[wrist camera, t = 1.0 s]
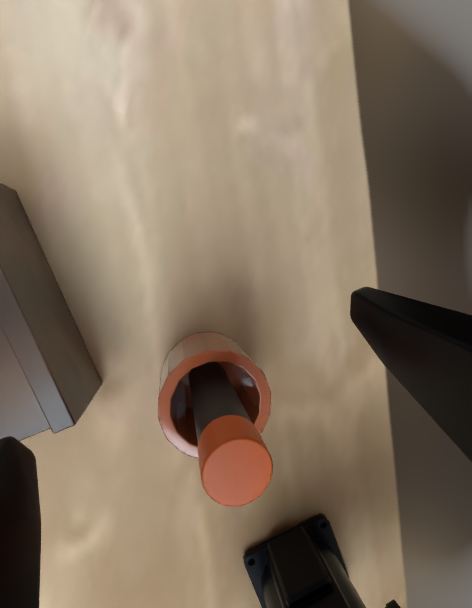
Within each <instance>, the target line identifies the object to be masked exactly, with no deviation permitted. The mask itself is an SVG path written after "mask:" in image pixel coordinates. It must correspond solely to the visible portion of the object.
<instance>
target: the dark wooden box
mask: <svg viewBox="0 0 472 608" xmlns="http://www.w3.org/2000/svg"><path fill="white" fill-rule="evenodd" d="M101 385H102V382H101V380H100V378H99V376H98V373H97V371H96V369H95V367H94V365H93V362H92V360H91V358H90V356H89V353H88V351H87V349H86V347H85V345H84V342H83V340H82V338H81V336H80V333H79V331H78V329H77V327H76V324H75V322H74V320H73V318H72V316H71V313H70V311H69V309H68V307H67V304H66V302H65V300H64V298H63V295H62V293H61V291H60V289H59V287H58V284H57V282H56V280H55V278H54V275H53V273H52V271H51V269H50V267H49V264H48V262H47V260H46V258H45V255H44V253H43V251H42V249H41V246H40V244H39V242H38V240H37V238H36V235H35V233H34V231H33V229H32V226H31V224H30V222H29V220H28V217H27V215H26V213H25V211H24V209H23V206H22V204H21V202H20V200H19V197H18V195H17V193H16V191H15V190H13V189H11V188H9V187H8V186H6V185H4V184H2V183H0V439H2V438H5V437H7V436H12V437H14V438H16V439H17V440H18V441H21V440H23V439H26V438H28V437H30V436H33V435H35V434H38V433H40V432H43V431H45V430H47V429H50V428H51V430H52V432H53V433H57V432H59V431H62V430H64V429H67V428H69V427H71V426H74V425H75V424H76V423H77V421H78V420H79V418H80V417H81V415H82V414H83V412H84V411H85V409H86V408H87V406H88V405H89V403H90V402H91V400H92V398H93V397H94V395H95V394H96V392H97V391H98V389H99V388H100V386H101Z"/></svg>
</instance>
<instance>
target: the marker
mask: <svg viewBox="0 0 472 608" xmlns="http://www.w3.org/2000/svg"><path fill="white" fill-rule="evenodd" d="M189 384H190V391H191V398H192V405H193V412H194V419H195V427H196V434H197V441H198V458H199V465H200V473H201V480H202V484H203V487H204V489H205V491H206V493H207V494H208V495H209V496H210V497H211V498H212V499H213V500H214V501H216V502H217V503H219V504H222V505H225V506H241V505H245V504H247V503H250V502H252V501H253V500H255V499H256V498H258V497H259V496H260V495H261V494H262V493H263V492H264V491H265V489H266V488H267V486H268V484H269V482H270V480H271V476H272V470H273V463H272V458H271V455H270V453H269V451H268V449H267V447H266V445H265V443H264V442H263V440H262V438H261V436H260V434H259V432H258V430H257V429H256V427H255V426H254V424H253V423H252V422H251V420H250V418H249V416H248V414H247V412H246V410H245V409H244V407H243V405H242V403H241V401H240V399H239V397H238V395H237V393H236V391H235V390H234V388H233V386H232V384H231V382H230V380H229V378H228V376H227V374H226V372H225V371H224V369H223V367H222V366H221V365H220V364H219V363H218V362H207V363H205V364H202V365H200V366H197V367H195V368H193V369H191V371H190V374H189Z"/></svg>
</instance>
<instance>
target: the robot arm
mask: <svg viewBox="0 0 472 608" xmlns="http://www.w3.org/2000/svg"><path fill="white" fill-rule="evenodd" d="M350 316H351V319H352V321H353V323H354V324H355V326H356V327H357V328H358V330H359V331H360V332H361V334H362V335H363V337H364V338H365V339H366V341H367V342H368V344H369V345H370V346H371V348H372V349H373V350H374V352H375V353H376V355H377V356H378V357H379V359H380V360H381V361H382V363H383V364H384V365H385V366H386V367H387V369H388V370H389V371H390V372H391V373H392V374H393V375H394V376H395V378H396V379H397V380H398V381H399V382H400V383H401V384H402V385H403V386H404V387H405V389H406V390H407V391H408V392H409V393H410V394H411V395H412V396H413V398H414V399H415V400H416V401H417V402H418V403H419V404H420V405H421V406H422V407H423V408H424V410H425V411H426V412H427V413H428V414H429V415H430V416H431V417H432V419H433V420H434V421H435V422H436V423H437V424H438V425H439V426H440V427H441V429H442V430H443V431H444V432H445V433H446V434H447V435H448V436H449V437H450V439H451V440H452V441H453V442H454V443H455V444H456V445H457V446H458V447H459V448H460V450H461V451H462V452H463V453H464V454H465V455H466V456H467V457H468V458H469V460H470V461H471V462H472V315H468V314H465V313H461V312H457V311H454V310H450V309H446V308H442V307H439V306H436V305H431V304H428V303H425V302H420V301H417V300H414V299H410V298H406V297H403V296H399V295H395V294H391V293H388V292H384V291H381V290H377V289H374V288H370V287H363V288H361V289H358V290H356V291H354V292H352V294H351V305H350ZM321 522H323V523H322V524H320V523H321ZM40 556H41V514H40V503H39V491H38V479H37V468H36V459H35V456H34V454H33V452H32V451H31V450H30V449H28V448H27V447H26V446H25V445H23V444H22V443H21V442H20V441H18V440H17V439H16V438H14V437H12V436H7V437H5V438H2V439H0V608H39V589H40ZM243 559H244V564H245V567H246V569H247V572H248V574H249V577H250V579H251V581H252V584H253V586H254V589H255V591H256V593H257V596H258V598H259V601H260V603H261V606H262V608H366V607H365V605H364V603H363V602H362V600H361V598H360V596H359V595H358V593H357V591H356V589H355V588H354V586H353V584H352V583H351V581H350V579H349V576H348V573H347V570H346V567H345V564H344V562H343V559H342V556H341V553H340V550H339V548H338V545H337V542H336V539H335V536H334V534H333V531H332V528H331V525H330V522H329V520H328V519H327V517H326V516H325V515H323V514H320V515H318V516H316V517H314V518H312V519H310V520H308V521H306V522H304V523H302V524H300V525H298V526H296V527H294V528H292V529H290V530H288V531H286V532H284V533H282V534H281V535H279V536H277V537H275V538H273V539H271V540H269V541H267V542H265V543H263V544H261V545H259V546H257V547H255V548H253V549H251V550H249V551H248V552H246V553H245V555H244V557H243ZM250 559H252V560H250ZM249 560H250V561H249ZM385 608H400V606H399V605H398V604H397V603H396V601H395V600H392V601H390V602H389V603H387V604H386V607H385Z"/></svg>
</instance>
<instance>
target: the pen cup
mask: <svg viewBox="0 0 472 608" xmlns="http://www.w3.org/2000/svg"><path fill="white" fill-rule="evenodd" d="M207 362H218V363H219V364H220V365H221V366H222V367H223V369H224V371H225V372H226V374H227V376H228V378H229V380H230V382H231V384H232V386H233V388H234V390H235V391H236V393H237V395H238V397H239V399H240V401H241V403H242V405H243V407H244V409H245V410H246V412H247V414H248V416H249V418H250V420H251V422H252V423H253V424H254V426H255V427H256V429H257V430H258V432H259V434H260V433H262V431H263V428H264V426H265V424H266V422H267V420H268V417H269V415H270V406H271V391H270V388H269V385H268V383H267V380H266V377H265V374H264V373H263V371H262V370H261V369H260V368H259V367H258V366H257V365H256V364H255V363H254V362H253V360H252V359H251V358H250V357H249V356H248V355H247V354H246V353H245V352H244V351H243V350H242V349H241V348H240V346H239V345H238V344H237V343H236V342H235V341H233V340H232V339H230V338H228V337H226V336H224V335H222V334H218V333H213V332H202V333H197V334H193V335H191V336H188V337H186V338H185V339H183V340H181V341H180V342H179V343H178V344H176V345H175V346H174V348H173V349H172V350H171V351H170V353H169V354H168V356H167V358H166V360H165V362H164V365H163V368H162V373H161V381H160V389H159V397H158V418H159V422H160V424H161V427H162V429H163V431H164V434H165V436H166V438H167V440H168V441H170V442H171V443H172V444H173V445H174V446H175V447H176V448H177V449H178V450H180V451H181V452H182V453H184V454H186V455H189V456H192V457H195V458H198V441H197V434H196V427H195V419H194V412H193V405H192V398H191V391H190V384H189V374H190V371H191V369H193V368H195V367H197V366H200V365H202V364H205V363H207Z"/></svg>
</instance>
